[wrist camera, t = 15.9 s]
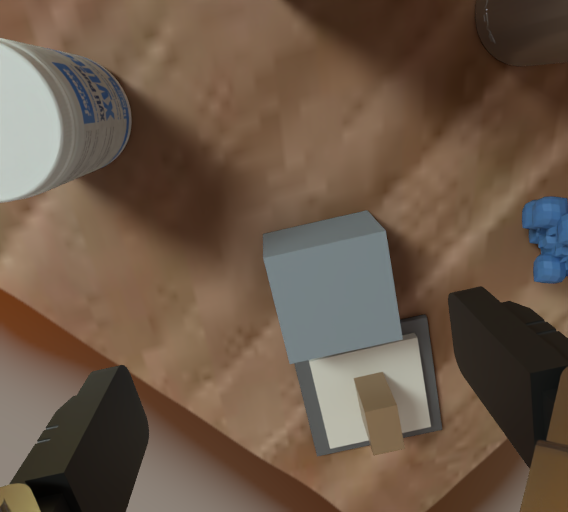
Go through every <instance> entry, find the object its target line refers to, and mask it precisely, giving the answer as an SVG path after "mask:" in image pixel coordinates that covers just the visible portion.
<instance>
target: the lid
mask: <svg viewBox="0 0 568 512" xmlns="http://www.w3.org/2000/svg"><path fill="white" fill-rule="evenodd" d="M402 337H403V339H402V340H398V341H393V342H389V343H384V344H380V345H375V346H370V347H366V348H361V349H357V350H352V351H348V352H343V353H338V354H334V355H329V356H325V357H320V358H316V359H311V360H309V363H310V368H311V372H312V376H313V380H314V384H315V388H316V392H317V397H318V401H319V405H320V409H321V413H322V417H323V421H324V425H325V430H326V434H327V438H328V442H329V446H330V449H332V448H336V447H341V446H346V445H350V444H355V443H359V442H364V441H368V440H369V442H370V446H371V449H372V452H373V455H379V454H383V453H388V452H392V451H397V450H402V449H405V447H404V441H403V435H402V433H405V432H410V431H414V430H419V429H423V428H428V427H431V424H430V417H429V410H428V404H427V397H426V391H425V384H424V378H423V371H422V365H421V358H420V352H419V345H418V339H417V336H416V335H415V333H411V334H406V335H402Z"/></svg>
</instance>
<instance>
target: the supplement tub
mask: <svg viewBox="0 0 568 512" xmlns="http://www.w3.org/2000/svg"><path fill="white" fill-rule="evenodd" d="M131 124H132V116H131V109H130V105H129V101H128V99H127V96H126V94H125V92H124V90H123V88H122V87H121V85H120V84H119V82H118V81H117V79H116V78H115V77H114V76H113V75H112V74H111V73H110V72H109V71H108V70H107V69H105V68H104V67H103V66H101V65H100V64H98V63H96V62H94V61H92V60H90V59H88V58H85V57H82V56H78V55H74V54H70V53H66V52H61V51H57V50H52V49H47V48H43V47H39V46H34V45H30V44H25V43H21V42H16V41H12V40H7V39H3V38H0V203H1V202H10V201H14V200H20V199H25V198H29V197H32V196H35V195H38V194H40V193H43V192H46V191H48V190H51V189H53V188H55V187H58V186H60V185H62V184H65V183H67V182H69V181H72V180H74V179H77V178H79V177H81V176H84V175H86V174H88V173H91V172H93V171H95V170H98V169H100V168H102V167H104V166H106V165H108V164H110V163H111V162H112V161H114V160H115V159H116V158H117V157H118V156H119V155H120V154H121V152H122V151H123V149H124V148H125V146H126V144H127V142H128V139H129V136H130V132H131Z"/></svg>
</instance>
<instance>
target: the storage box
mask: <svg viewBox="0 0 568 512" xmlns="http://www.w3.org/2000/svg"><path fill="white" fill-rule="evenodd" d="M263 259H264V263H265V267H266V271H267V275H268V279H269V283H270V287H271V291H272V295H273V299H274V303H275V307H276V311H277V315H278V319H279V323H280V327H281V331H282V335H283V339H284V343H285V347H286V351H287V355H288V359H289V363H290V364H293V363H297V362H302V361H306V360H311V359H316V358H320V357H325V356H329V355H334V354H338V353H343V352H348V351H352V350H357V349H361V348H366V347H370V346H375V345H380V344H384V343H389V342H393V341H398V340H402V339H403V337H402V331H401V324H400V318H399V312H398V305H397V299H396V293H395V286H394V280H393V274H392V267H391V261H390V255H389V248H388V242H387V236H386V230H385V229H384V228H383V227H382V226H381V225H380V224H379V223H378V222H377V221H376V219H375V218H374V217H373V216H372V215H371V214H370V213H369V212H368V211H362V212H358V213H354V214H349V215H345V216H340V217H336V218H331V219H327V220H323V221H318V222H314V223H309V224H305V225H301V226H296V227H292V228H287V229H283V230H279V231H274V232H270V233H265V234H263Z"/></svg>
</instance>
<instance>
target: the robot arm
mask: <svg viewBox="0 0 568 512" xmlns="http://www.w3.org/2000/svg"><path fill="white" fill-rule="evenodd" d="M475 21H476V26H477V32H478V34H479V37H480V39H481V42H482V43H483V45H484V46H485V48H486V49H487V51H488V52H489V53H490V54H491V55H493V56H494V57H495V58H496V59H498V60H500V61H502V62H504V63H506V64H509V65H513V66H533V65H543V64H555V63H564V62H568V0H477V2H476V8H475ZM448 305H449V313H450V322H451V330H452V338H453V347H454V353H455V357H456V361H457V364H458V367H459V369H460V371H461V373H462V375H463V376H464V378H465V379H466V381H467V382H468V383H469V385H470V386H471V388H472V389H473V390H474V392H475V393H476V395H477V396H478V397H479V399H480V400H481V402H482V403H483V404H484V406H485V407H486V409H487V410H488V411H489V413H490V414H491V416H492V417H493V418H494V420H495V421H496V422H497V424H498V425H499V427H500V428H501V429H502V431H503V432H504V434H505V435H506V436H507V438H508V439H509V441H510V442H511V443H512V445H513V446H514V448H515V449H516V450H517V452H518V453H519V455H520V456H521V457H522V459H523V460H524V461H525V463H526V464H527V466H528V467H529V468H530V471H529V475H528V479H527V484H526V487H525V492H524V496H523V500H522V504H521V508H520V512H568V338H567V337H565V336H564V335H563V334H562V333H560V332H559V331H556V329H555V328H554V327H553V326H552V325H550V324H549V323H548V322H545V321H544V319H543V318H542V317H540V316H539V315H538V314H537V313H535V312H534V311H533V310H532V309H530V308H528V307H525V306H522V305H519V304H517V303H514V302H511V301H507V302H503V303H501V302H500V301H499V300H497V299H496V298H495V297H494V296H493V295H492V294H490V293H489V292H488V291H487V290H486V289H485V288H483V287H481V286H480V287H475V288H471V289H466V290H462V291H457V292H453V293H450V294H449V297H448ZM148 439H149V427H148V421H147V417H146V414H145V412H144V409H143V406H142V404H141V401H140V398H139V396H138V393H137V391H136V388H135V386H134V383H133V380H132V377H131V375H130V373H129V371H128V369H127V368H126V367H125V366H124V365H120V366H115V367H111V368H106V369H102V370H97V371H93V372H91V373H90V375H89V376H88V378H87V379H86V381H85V383H84V384H83V386H82V388H81V389H80V391H79V393H78V394H77V396H73V397H72V398H71V399H70V400H68V401H67V402H66V403H65V404H64V405H63V406H62V407H61V408H60V409H58V410H57V411H56V413H55V414H54V416H53V417H52V419H51V420H50V422H49V423H48V425H47V426H46V430H44V431H43V433H42V434H41V436H40V437H39V439H38V440H37V441H38V444H35V446H34V447H33V448H32V450H31V451H30V453H29V454H28V456H27V458H26V459H25V461H24V462H23V464H22V465H21V467H20V468H19V470H18V471H17V473H16V475H15V476H14V478H13V479H12V481H11V482H10V484H9V485H5V486H3V487H0V512H126V509H127V506H128V503H129V499H130V496H131V494H132V490H133V487H134V484H135V481H136V478H137V475H138V472H139V469H140V466H141V463H142V459H143V456H144V453H145V450H146V447H147V444H148Z"/></svg>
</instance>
